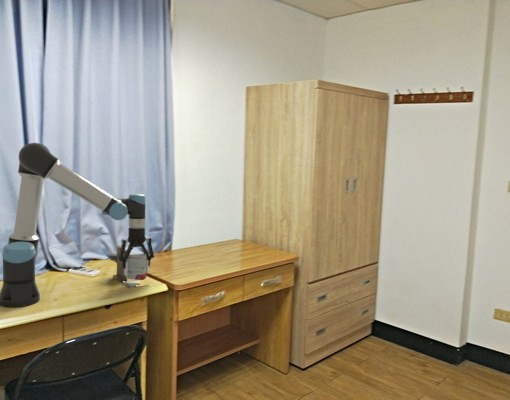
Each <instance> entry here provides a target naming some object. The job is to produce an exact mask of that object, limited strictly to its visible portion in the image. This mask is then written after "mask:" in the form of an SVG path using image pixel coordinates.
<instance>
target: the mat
mask: <svg viewBox="0 0 510 400" xmlns="http://www.w3.org/2000/svg"><path fill="white" fill-rule="evenodd" d="M123 283H124V284H123ZM123 283H122V284H123V285H124V286H126V287H127V286H128V287H129V288H128V287H127V288H128V289H131V288H130V287H134V288H137V287H136V285H140V284H139V283H141V282H140V281H138V280H134V279H132V280H127V281H125V282H123Z"/></svg>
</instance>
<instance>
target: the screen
mask: <svg viewBox="0 0 510 400" xmlns="http://www.w3.org/2000/svg"><path fill="white" fill-rule="evenodd" d="M120 249H121V245H118V246H116V274H113V275H112V276H113V277H114V278H115V277H116V278H117V279H118V280H117V279H116V278H115V279H116V280H117V281H118V282H120V283H122V282H123V281H128V279H126V276H125V275H124V269H123V268H122V261H120V260H118V257H119V253H120ZM126 251H127V249H126V248H125V251H124V255H125V253H126ZM124 255H123V256H124Z"/></svg>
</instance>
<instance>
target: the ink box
mask: <svg viewBox="0 0 510 400" xmlns="http://www.w3.org/2000/svg"><path fill="white" fill-rule="evenodd" d="M146 259H147V258H146V254H144V253H136V252H130V254H129V256H128V258H127V260H126V261H127V262H128V275H127V276H126V279H127V280H144V281H145V279H147V274H146Z"/></svg>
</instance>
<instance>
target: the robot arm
mask: <svg viewBox="0 0 510 400" xmlns="http://www.w3.org/2000/svg"><path fill="white" fill-rule="evenodd" d="M18 162H19V164H18V170H17V173H18V174H19V176H20V177H21V178H20V179H21V180H20V184H19V193H18V200H17V207H16V215H15V221H14V227H13V228H14V229H13V232H12V233H11V234H9V235H8V242H7V244H6V245H4V246H3V248H2V252H1V256H2V286H1V289H0V306H2V307H5V308H17V307H19V308H20V307H25V306H30V305H34V304H36V303H38V302H39V301H41V298H40V297H41V293H40V290H39V289H38V288H39V287H38V285H37V283H36V259H37V257H38V254H39V252H38V251H39V250H38V249H39V242H40V241H39V240H40V237H39V236H38V235H37V228H38V221H39V214H40V206H41V200H42V192H43V186H44V180H45V179H49V180H51V181H53V182H55V183H56V184H58V185H59V186H61V187H62V188H64V189H66V190H67V191H69V192H71V193H72V194H73V195H75V196H78V198H80V199H82V200H84V201H85V202H88V203H89V204H90V205H92V206H94V207H95V208H97V209H98V210H100V211H101V214H102V215H103V216H109V217H111V219H113V220H115V221H122V220H124V219H126V217H127V216H128V237H127V238H126V239H123V238H122V239H121V241H120V242H121V245H120V246H121V249H120V253H119V257H118V260H120V261H122V268H123V269H124V275H125V276H127V275H128V262H127V261H126V260H127V258H128V256H129V254H130V253H132V250H133V249H134V248H138V247H139V248H141V251H142V253H143V254H146V275H147V274H149V267H150V266H151V260H152V259H153V258H155V253H154V250H153V249H154V248H153V245H152V238H151V237H150V236H149V237H146V228H145V226H146V205H147V204H146V196H145V194H142V193H130V194H129V195H128V198H115V197H113V196H112V195H110V193H107V192H106V191H104V190H103V189H101V188H100V187H98V186H96V185H95V184H94V183H92V182H90V181H89V180H88V179H85V178H84V177H82V176H81V175H80V174H78V173H76V172H75V171H74V170H71V169H70V168H68V167H67V166H65V164H64V165H63V164H62V163H61V162H60V159H59V158H57V157H56V156H55V155H53V154H52V153H51V151H50V149H49V148H48V147H47V146H46V145H44V144H42V143H39V142H31V143H26V144H24V145H23V146H22V148H21V149H20V150H19V153H18ZM145 242H146V245H147V249H148V250H147V249H146V246H145V244H144V243H145ZM127 244H128V246H127ZM126 247H127V249H126ZM125 249H126V250H127V251H126V253H125V255H124V251H125ZM148 252H149V253H148ZM123 255H124V256H123Z"/></svg>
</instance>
